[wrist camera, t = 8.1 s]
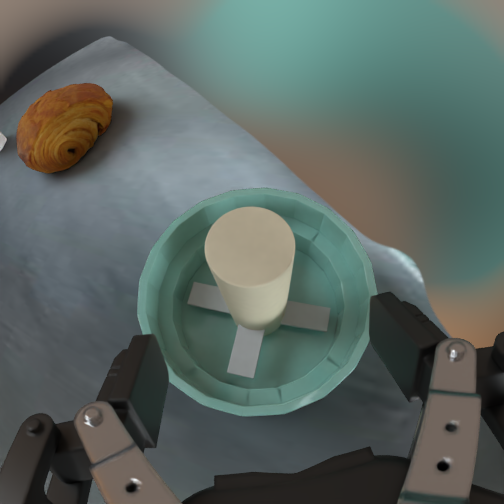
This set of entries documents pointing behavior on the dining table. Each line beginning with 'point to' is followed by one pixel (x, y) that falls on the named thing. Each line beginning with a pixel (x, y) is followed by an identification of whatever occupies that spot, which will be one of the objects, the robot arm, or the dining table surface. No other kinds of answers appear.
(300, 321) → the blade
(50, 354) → the dining table surface
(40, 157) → the croissant
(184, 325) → the processor bowl
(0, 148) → the pepper shaker
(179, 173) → the dining table surface
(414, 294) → the dining table surface
